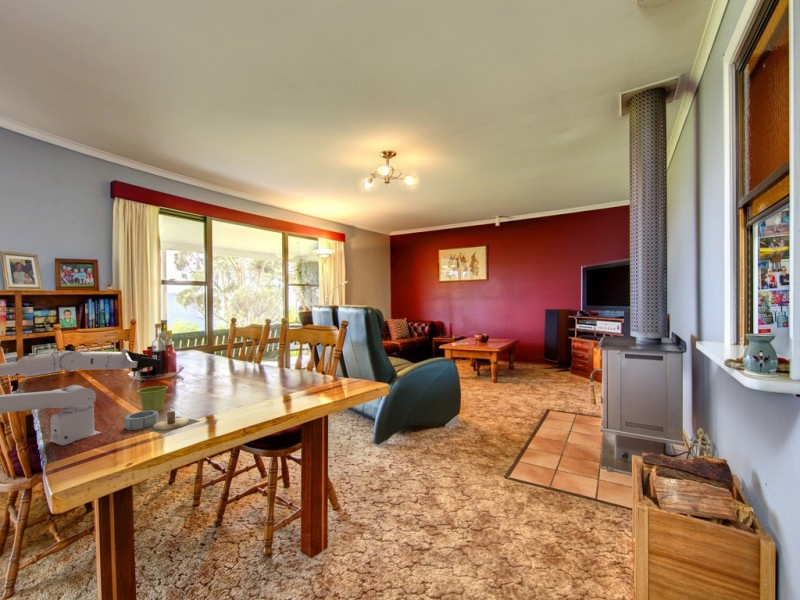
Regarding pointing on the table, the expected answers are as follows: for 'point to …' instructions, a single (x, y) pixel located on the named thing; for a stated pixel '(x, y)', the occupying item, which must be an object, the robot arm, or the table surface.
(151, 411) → the bowl
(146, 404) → the plant pot
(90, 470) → the table surface
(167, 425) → the lid
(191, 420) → the mat
